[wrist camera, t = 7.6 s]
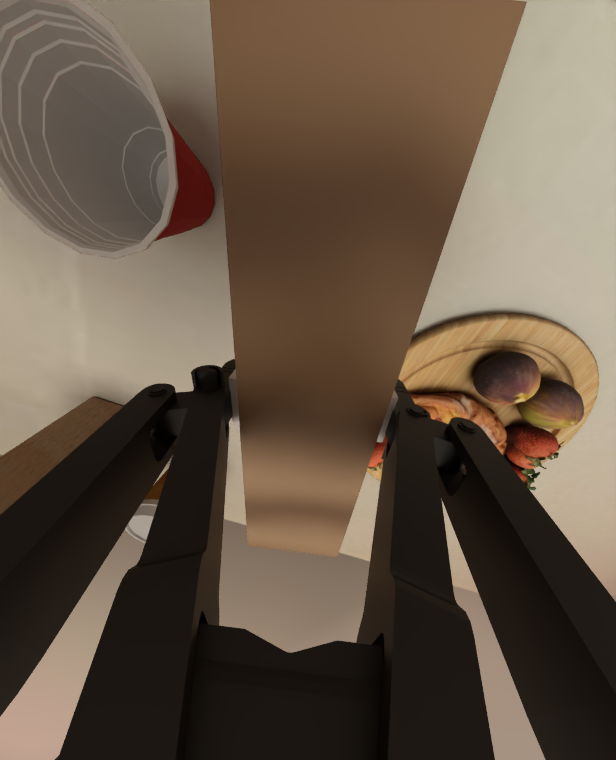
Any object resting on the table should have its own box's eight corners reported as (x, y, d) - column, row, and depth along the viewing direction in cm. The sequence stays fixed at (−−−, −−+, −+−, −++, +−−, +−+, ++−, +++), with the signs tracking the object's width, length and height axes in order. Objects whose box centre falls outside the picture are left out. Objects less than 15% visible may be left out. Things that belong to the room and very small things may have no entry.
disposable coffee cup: (208, 485, 46) (174, 555, 36) (162, 463, 43) (111, 532, 33) (231, 462, 42) (201, 533, 32) (183, 435, 39) (132, 504, 29)
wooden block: (92, 394, 36) (-121, 533, 19) (158, 416, 37) (15, 563, 20) (96, 437, 41) (-71, 578, 24) (154, 455, 42) (36, 600, 25)
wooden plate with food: (332, 475, 43) (335, 522, 36) (374, 296, 26) (394, 317, 19) (503, 491, 43) (539, 541, 36) (650, 325, 26) (771, 356, 19)
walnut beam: (280, 138, 11) (207, -31, 4) (402, 152, 11) (526, 2, 4) (272, 453, 22) (248, 546, 15) (333, 460, 22) (337, 557, 15)
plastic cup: (252, 139, 20) (176, 29, 10) (231, 268, 26) (168, 284, 15) (123, 81, 19) (-118, -116, 9) (130, 230, 24) (-14, 219, 14)
